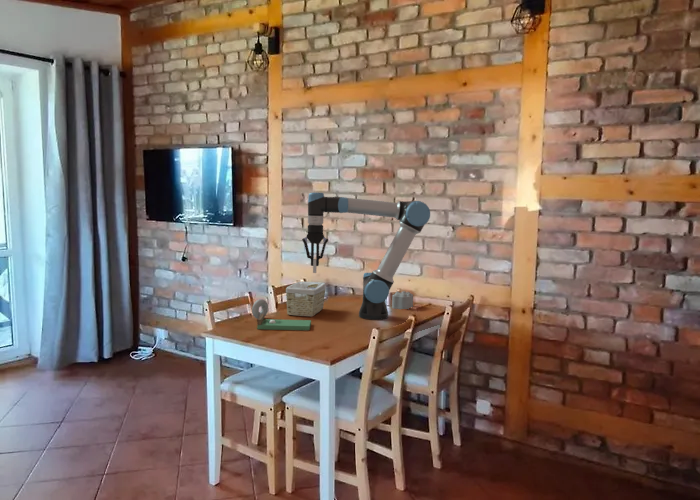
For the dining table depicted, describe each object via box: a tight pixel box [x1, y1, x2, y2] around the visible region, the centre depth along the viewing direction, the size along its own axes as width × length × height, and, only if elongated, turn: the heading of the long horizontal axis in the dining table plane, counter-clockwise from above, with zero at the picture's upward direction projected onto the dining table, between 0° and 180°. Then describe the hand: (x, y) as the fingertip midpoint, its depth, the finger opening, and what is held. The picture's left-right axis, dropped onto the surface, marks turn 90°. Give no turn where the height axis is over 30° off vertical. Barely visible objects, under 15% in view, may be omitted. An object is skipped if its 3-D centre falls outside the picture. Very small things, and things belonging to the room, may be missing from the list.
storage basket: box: [285, 281, 327, 317], centre depth 304 cm, size 24×16×15 cm
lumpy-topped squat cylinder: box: [391, 290, 414, 310], centre depth 323 cm, size 10×13×9 cm
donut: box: [251, 298, 269, 320], centre depth 286 cm, size 10×4×10 cm, turn 144°
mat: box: [256, 318, 312, 331], centre depth 272 cm, size 24×12×2 cm, turn 90°
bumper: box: [256, 314, 266, 326], centre depth 271 cm, size 2×12×2 cm, turn 0°
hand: (314, 272), depth 281 cm, fingers closed
